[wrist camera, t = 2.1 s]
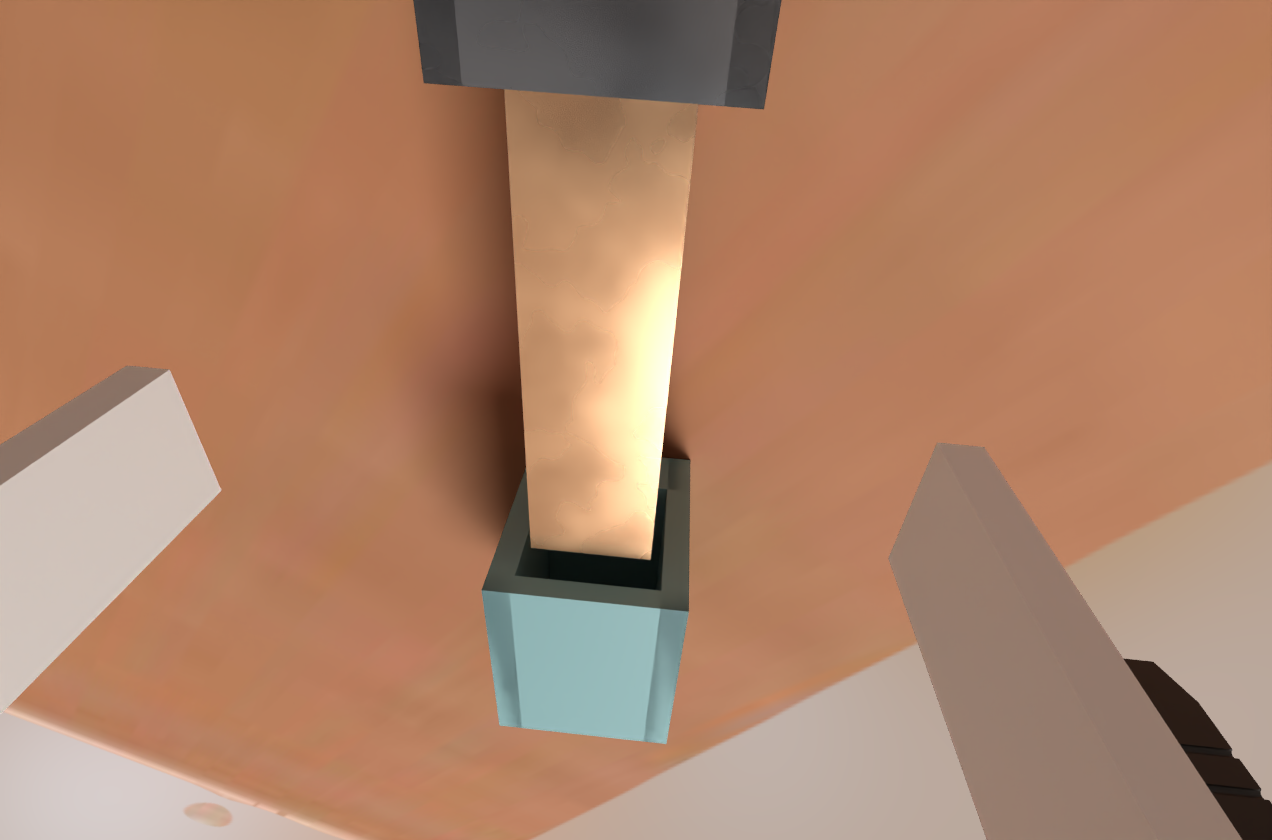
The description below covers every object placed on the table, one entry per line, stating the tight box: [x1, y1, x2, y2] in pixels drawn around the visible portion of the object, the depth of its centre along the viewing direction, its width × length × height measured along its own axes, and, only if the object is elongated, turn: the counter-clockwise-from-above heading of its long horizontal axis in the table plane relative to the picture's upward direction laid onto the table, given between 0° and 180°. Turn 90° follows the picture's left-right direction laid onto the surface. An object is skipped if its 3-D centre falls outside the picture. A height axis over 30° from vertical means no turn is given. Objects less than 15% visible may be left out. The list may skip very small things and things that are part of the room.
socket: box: [482, 457, 690, 744], centre depth 28 cm, size 9×7×9 cm
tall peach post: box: [504, 89, 698, 560], centre depth 17 cm, size 26×4×4 cm, turn 177°
